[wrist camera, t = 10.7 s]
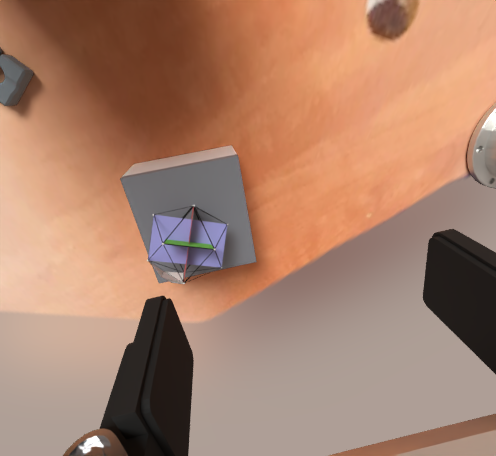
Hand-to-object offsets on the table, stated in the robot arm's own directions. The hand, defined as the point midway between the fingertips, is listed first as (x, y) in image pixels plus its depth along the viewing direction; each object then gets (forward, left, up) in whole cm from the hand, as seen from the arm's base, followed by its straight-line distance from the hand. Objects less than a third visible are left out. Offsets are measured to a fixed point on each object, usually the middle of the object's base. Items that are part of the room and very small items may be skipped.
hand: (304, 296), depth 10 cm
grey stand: (+5, +5, -25) cm, 26 cm away
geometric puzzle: (+6, +5, -20) cm, 21 cm away
